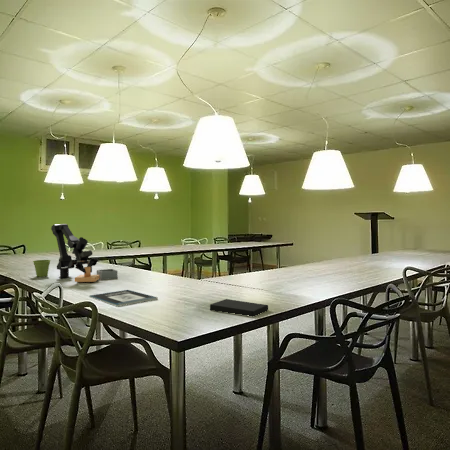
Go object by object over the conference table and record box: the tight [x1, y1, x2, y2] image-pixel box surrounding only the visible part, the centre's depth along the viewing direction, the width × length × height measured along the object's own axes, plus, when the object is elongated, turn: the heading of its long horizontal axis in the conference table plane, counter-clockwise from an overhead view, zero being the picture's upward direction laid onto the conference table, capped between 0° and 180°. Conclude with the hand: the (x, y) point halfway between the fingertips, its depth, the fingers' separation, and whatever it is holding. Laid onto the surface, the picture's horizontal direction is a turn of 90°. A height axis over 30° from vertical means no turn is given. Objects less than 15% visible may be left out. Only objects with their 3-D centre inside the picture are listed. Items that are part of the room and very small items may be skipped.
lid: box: [74, 266, 101, 283], centre depth 254 cm, size 13×13×8 cm
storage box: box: [96, 268, 118, 281], centre depth 269 cm, size 11×11×6 cm
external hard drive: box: [209, 298, 269, 317], centre depth 181 cm, size 14×23×3 cm, turn 57°
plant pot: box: [32, 259, 52, 278], centre depth 281 cm, size 12×12×11 cm
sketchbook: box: [89, 289, 158, 307], centre depth 207 cm, size 23×32×2 cm
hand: (88, 272), depth 253 cm, fingers closed on lid, 4 cm apart
